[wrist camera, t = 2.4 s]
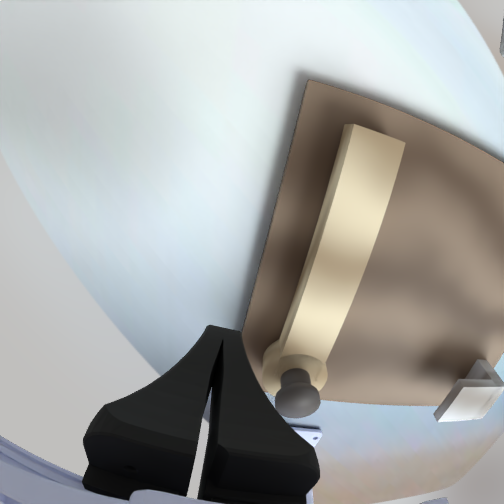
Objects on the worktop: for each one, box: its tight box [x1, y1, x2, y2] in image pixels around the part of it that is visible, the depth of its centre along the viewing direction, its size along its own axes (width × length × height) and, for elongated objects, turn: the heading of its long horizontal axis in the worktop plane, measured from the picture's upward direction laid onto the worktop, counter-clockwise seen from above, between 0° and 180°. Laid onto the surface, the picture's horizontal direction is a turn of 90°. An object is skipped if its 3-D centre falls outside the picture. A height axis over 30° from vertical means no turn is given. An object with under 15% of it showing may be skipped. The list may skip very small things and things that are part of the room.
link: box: [262, 124, 406, 418], centre depth 18 cm, size 18×4×4 cm, turn 167°
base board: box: [241, 80, 504, 422], centre depth 19 cm, size 22×25×5 cm
